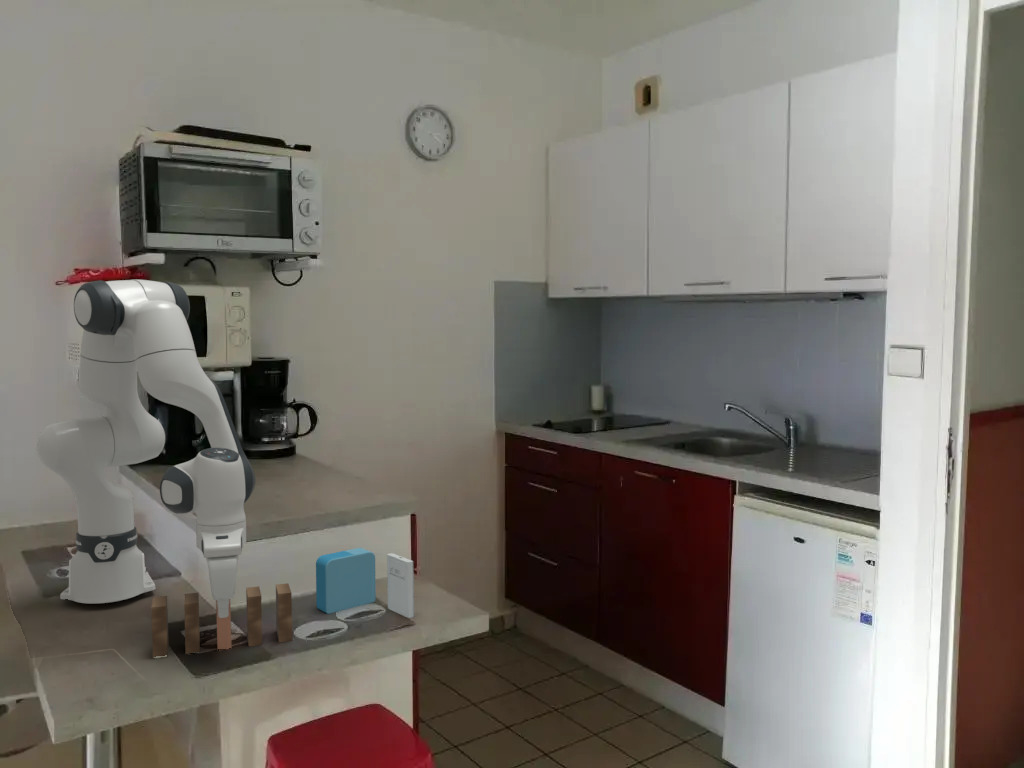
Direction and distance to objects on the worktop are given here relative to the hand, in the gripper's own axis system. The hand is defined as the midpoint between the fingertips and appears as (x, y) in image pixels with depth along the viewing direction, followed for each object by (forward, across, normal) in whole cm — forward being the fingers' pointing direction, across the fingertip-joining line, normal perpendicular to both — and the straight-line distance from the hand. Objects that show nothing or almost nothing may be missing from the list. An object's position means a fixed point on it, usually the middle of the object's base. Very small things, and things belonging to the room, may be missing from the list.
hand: (222, 608), depth 157 cm
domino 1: (+8, 0, -11) cm, 13 cm away
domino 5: (+7, 0, +11) cm, 13 cm away
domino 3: (+7, 0, 0) cm, 7 cm away
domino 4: (+7, 0, +6) cm, 9 cm away
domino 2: (+7, 0, -5) cm, 9 cm away
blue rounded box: (+8, -13, +25) cm, 30 cm away
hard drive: (+8, -5, +35) cm, 36 cm away
